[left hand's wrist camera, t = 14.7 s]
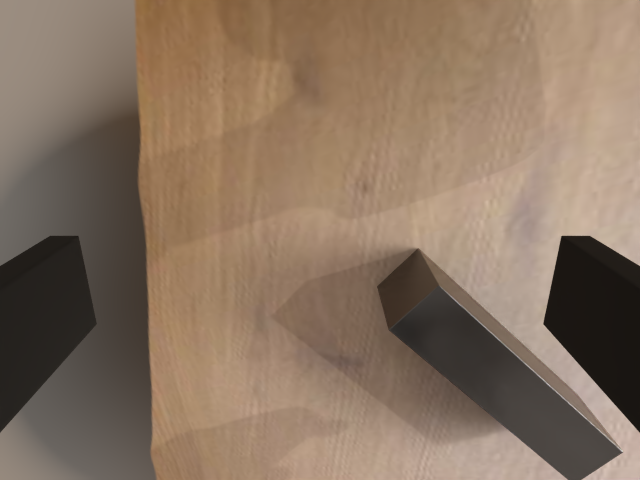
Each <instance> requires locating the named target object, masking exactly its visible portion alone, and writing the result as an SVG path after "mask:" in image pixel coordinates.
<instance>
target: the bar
mask: <svg viewBox="0 0 640 480" xmlns="http://www.w3.org/2000/svg"><path fill="white" fill-rule="evenodd" d="M377 287H378V291H379V295H380V299H381V302H382V306H383V310H384V314H385V317H386V321H387V325H388V329H389V330H390V331H391V332H392V333H393V334H394V335H396V336H397V337H398V338H399V339H400V340H402V341H403V342H404V343H405V344H406V345H408V346H409V347H410V348H411V349H412V350H414V351H415V352H416V353H417V354H418V355H419V356H421V357H422V358H423V359H424V360H425V361H427V362H428V363H429V364H430V365H431V366H433V367H434V368H435V369H436V370H437V371H439V372H440V373H441V374H442V375H443V376H445V377H446V378H447V379H448V380H449V381H451V382H452V383H453V384H454V385H455V386H457V387H458V388H459V389H460V390H461V391H463V392H464V393H465V394H466V395H467V396H469V397H470V398H471V399H472V400H473V401H475V402H476V403H477V404H478V405H479V406H481V407H482V408H483V409H484V410H485V411H487V412H488V413H489V414H490V415H491V416H492V417H494V418H495V419H496V420H497V421H498V422H500V423H501V424H502V425H503V426H504V427H506V428H507V429H508V430H509V431H510V432H512V433H513V434H514V435H515V436H516V437H518V438H519V439H520V440H521V441H522V442H524V443H525V444H526V445H527V446H528V447H530V448H531V449H532V450H533V451H534V452H536V453H537V454H538V455H539V456H540V457H542V458H543V459H544V460H545V461H546V462H548V463H549V464H550V465H551V466H552V467H554V468H555V469H556V470H557V471H558V472H560V473H561V474H562V475H563V476H564V477H565V478H567V479H568V480H582V479H583V478H585V477H586V476H588V475H589V474H591V473H592V472H594V471H595V470H597V469H598V468H600V467H601V466H603V465H604V464H606V463H607V462H609V461H610V460H612V459H614V458H615V457H617V456H618V455H620V454H621V453H623V451H622V450H621V448H620V447H619V446H618V445H617V443H616V442H615V441H614V440H613V438H612V437H611V436H610V435H609V433H608V432H607V431H606V430H605V428H604V427H603V426H602V425H601V423H600V422H599V421H598V420H597V418H596V417H595V416H594V415H593V413H592V412H591V411H590V410H589V408H588V407H587V406H586V405H585V403H584V402H583V401H582V400H581V398H580V397H579V396H578V395H577V394H576V393H575V392H574V391H573V390H572V389H571V388H570V387H569V386H568V385H567V384H565V383H564V382H563V381H562V380H561V379H560V378H559V377H558V376H557V375H556V374H555V373H553V372H552V371H551V370H550V369H549V368H548V367H547V366H546V365H545V364H544V363H543V362H542V361H540V360H539V359H538V358H537V357H536V356H535V355H534V354H533V353H532V352H531V351H530V350H528V349H527V348H526V347H525V346H524V345H523V344H522V343H521V342H520V341H519V340H518V339H517V338H515V337H514V336H513V335H512V334H511V333H510V332H509V331H508V330H507V329H506V328H505V327H503V326H502V325H501V324H500V323H499V322H498V321H497V320H496V319H495V318H494V317H493V316H492V315H490V314H489V313H488V312H487V311H486V310H485V309H484V308H483V307H482V306H481V305H480V304H478V303H477V302H476V301H475V300H474V299H473V298H472V297H471V296H470V295H469V294H468V293H467V292H465V291H464V290H463V289H462V288H461V287H460V286H459V285H458V284H457V283H456V282H455V281H453V280H452V279H451V278H450V277H449V276H448V275H447V274H446V273H445V272H444V271H443V270H442V269H440V268H439V267H438V266H437V265H436V264H435V263H434V262H433V261H432V260H431V259H430V258H428V257H427V256H426V255H425V254H424V253H423V252H422V251H421V250H420V249H417V250H416V251H415V252H414V253H413V254H412V255H411V256H410V257H408V258H407V259H406V260H405V261H404V262H403V263H402V264H401V265H400V266H399V267H398V268H397V269H396V270H395V271H393V272H392V273H391V274H390V275H389V276H388V277H387V278H386V279H385V280H384V281H383V282H382V283H381V284H379V285H378V286H377Z"/></svg>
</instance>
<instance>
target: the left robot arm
mask: <svg viewBox="0 0 640 480" xmlns="http://www.w3.org/2000/svg"><path fill="white" fill-rule="evenodd" d="M543 324H544V325H545V326H546V328H547V329H548V330H549V331H550V332H551V333H552V334H553V335H554V337H555V338H556V339H557V340H558V341H559V342H560V343H561V344H562V346H563V347H564V348H565V349H566V350H567V351H568V352H569V353H570V355H571V356H572V357H573V358H574V359H575V360H576V361H577V362H578V364H579V365H580V366H581V367H582V368H583V369H584V370H585V371H586V373H587V374H588V375H589V376H590V377H591V378H592V379H593V380H594V382H595V383H596V384H597V385H598V386H599V387H600V388H601V389H602V391H603V392H604V393H605V394H606V395H607V396H608V397H609V398H610V400H611V401H612V402H613V403H614V404H615V405H616V406H617V407H618V409H619V410H620V411H621V412H622V413H623V414H624V415H625V416H626V418H627V419H628V420H629V421H630V422H631V423H632V424H633V425H634V427H635V428H636V429H637V430H638V431H639V432H640V266H639V265H637V264H635V263H634V262H632V261H630V260H629V259H627V258H625V257H624V256H622V255H620V254H619V253H617V252H616V251H614V250H612V249H611V248H609V247H607V246H606V245H604V244H602V243H601V242H599V241H597V240H596V239H594V238H592V237H591V236H561V241H560V246H559V251H558V256H557V261H556V265H555V270H554V275H553V280H552V285H551V290H550V294H549V299H548V304H547V309H546V314H545V319H544V323H543ZM95 325H96V319H95V314H94V309H93V304H92V299H91V295H90V290H89V285H88V280H87V275H86V270H85V265H84V261H83V256H82V251H81V246H80V241H79V237H78V236H49V237H48V238H46V239H44V240H43V241H41V242H39V243H38V244H36V245H34V246H33V247H31V248H29V249H28V250H26V251H25V252H23V253H21V254H20V255H18V256H16V257H15V258H13V259H11V260H10V261H8V262H6V263H5V264H3V265H1V266H0V432H1V431H2V430H3V429H4V428H5V426H6V425H7V424H8V423H9V422H10V421H11V420H12V419H13V418H14V416H15V415H16V414H17V413H18V412H19V411H20V410H21V408H22V407H23V406H24V405H25V404H26V403H27V402H28V401H29V400H30V398H31V397H32V396H33V395H34V394H35V393H36V392H37V391H38V389H39V388H40V387H41V386H42V385H43V384H44V383H45V382H46V380H47V379H48V378H49V377H50V376H51V375H52V374H53V372H54V371H55V370H56V369H57V368H58V367H59V366H60V365H61V363H62V362H63V361H64V360H65V359H66V358H67V357H68V356H69V354H70V353H71V352H72V351H73V350H74V349H75V348H76V347H77V345H78V344H79V343H80V342H81V341H82V340H83V339H84V338H85V336H86V335H87V334H88V333H89V332H90V331H91V330H92V329H93V327H94V326H95Z"/></svg>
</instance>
